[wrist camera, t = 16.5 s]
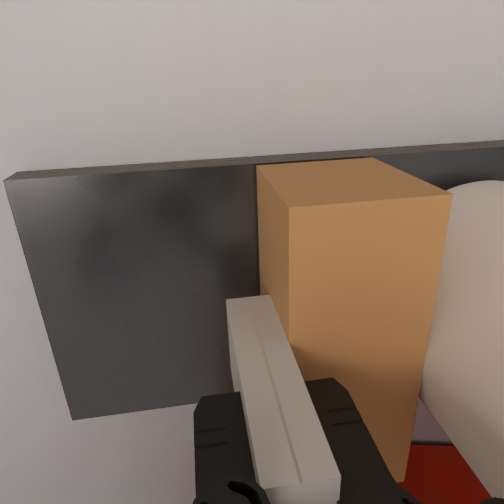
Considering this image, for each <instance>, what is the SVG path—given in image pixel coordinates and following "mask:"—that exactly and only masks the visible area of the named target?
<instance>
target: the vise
mask: <svg viewBox="0 0 504 504" xmlns="http://www.w3.org/2000/svg"><path fill="white" fill-rule="evenodd" d="M357 158H375V159H377V160H379V161H381V162H383V163H386V164H388V165H390V166H392V167H395V168H397V169H399V170H401V171H403V172H406V173H408V174H410V175H412V176H414V177H417V178H419V179H421V180H423V181H425V182H428V183H430V184H432V185H434V186H436V187H439V188H441V189H443V190H445V191H446V190H448V189H451V188H453V187H456V186H459V185H463V184H467V183H471V182H477V181H486V180H497V181H504V140H498V141H483V142H468V143H452V144H437V145H422V146H407V147H391V148H376V149H361V150H346V151H330V152H315V153H300V154H285V155H270V156H254V157H239V158H224V159H209V160H193V161H178V162H163V163H148V164H132V165H117V166H102V167H87V168H72V169H56V170H41V171H26V172H17V173H15V174H13V175H12V176H10V177H8V178H7V179H5V180H3V182H4V186H5V189H6V193H7V196H8V199H9V203H10V206H11V210H12V213H13V217H14V220H15V224H16V227H17V231H18V234H19V237H20V241H21V244H22V248H23V251H24V255H25V258H26V262H27V265H28V269H29V272H30V275H31V279H32V282H33V286H34V289H35V293H36V296H37V300H38V303H39V307H40V310H41V314H42V317H43V320H44V324H45V327H46V331H47V334H48V338H49V341H50V345H51V348H52V352H53V355H54V358H55V362H56V365H57V369H58V372H59V376H60V379H61V383H62V386H63V390H64V393H65V396H66V400H67V403H68V407H69V410H70V414H71V417H72V420H78V419H85V418H93V417H100V416H107V415H114V414H121V413H129V412H136V411H143V410H150V409H157V408H165V407H172V406H179V405H186V404H193V403H199V400H200V398H201V396H208V395H216V394H223V393H230V392H234V386H233V379H232V373H231V366H230V351H229V337H228V323H227V308H226V299H233V298H243V297H252V296H260V269H259V237H258V205H257V173H256V165H270V164H284V163H299V162H314V161H328V160H343V159H357Z"/></svg>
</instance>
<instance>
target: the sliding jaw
mask: <svg viewBox="0 0 504 504" xmlns="http://www.w3.org/2000/svg"><path fill="white" fill-rule="evenodd" d="M256 173H257V205H258V237H259V269H260V296H262V295H270V296H271V298H272V301H273V304H274V306H275V309H276V311H277V314H278V316H279V319H280V322H281V324H282V327H283V329H284V332H285V335H286V337H287V340H288V342H289V344H290V347H291V349H292V352H293V354H294V357H295V359H296V362H297V364H298V367H299V370H300V372H301V375H302V377H303V380H304V381H310V380H318V379H325V378H332V377H333V378H334V379H335V380H337V381H338V382H339V383H340V384H341V385H342V386H343V387H345V388H346V389H347V390H348V392H349V394H350V396H351V398H352V399H353V401H354V403H355V405H356V409H357V410H358V411H359V413H360V415H361V417H362V419H363V423H365V425H366V427H367V429H368V430H369V432H370V434H371V436H372V438H373V440H374V442H375V444H376V446H377V448H378V450H379V452H380V454H381V456H382V458H383V459H384V461H385V463H386V465H387V467H388V469H389V471H390V473H391V475H392V476H393V478H394V480H395V481H396V483H397V482H403V481H404V479H405V473H406V467H407V462H408V456H409V450H410V444H411V438H412V432H413V427H414V421H415V415H416V409H417V403H418V397H419V392H420V386H421V380H422V374H423V368H424V362H425V356H426V351H427V345H428V339H429V333H430V327H431V321H432V316H433V310H434V304H435V298H436V292H437V286H438V281H439V275H440V269H441V263H442V257H443V251H444V245H445V240H446V234H447V228H448V222H449V216H450V210H451V205H452V199H453V194H452V193H450V192H447V191H445V190H443V189H441V188H439V187H436V186H434V185H432V184H430V183H428V182H425V181H423V180H421V179H419V178H417V177H414V176H412V175H410V174H408V173H406V172H403V171H401V170H399V169H397V168H395V167H392V166H390V165H388V164H386V163H383V162H381V161H379V160H377V159H375V158H357V159H343V160H328V161H314V162H299V163H284V164H270V165H256Z"/></svg>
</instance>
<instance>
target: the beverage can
mask: <svg viewBox="0 0 504 504" xmlns="http://www.w3.org/2000/svg"><path fill="white" fill-rule="evenodd" d="M446 191H447V192H450V193H452V194H453V199H452V205H451V210H450V216H449V222H448V228H447V234H446V240H445V245H444V251H443V257H442V263H441V269H440V275H439V281H438V286H437V292H436V298H435V304H434V310H433V316H432V321H431V327H430V333H429V339H428V345H427V351H426V356H425V362H424V368H423V374H422V380H421V386H420V392H419V397H420V399H421V400H422V402H423V403H424V404H425V406H426V407H427V408H428V410H429V411H430V413H431V414H432V415H433V417H434V418H435V419H436V421H437V422H438V424H439V425H440V426H441V428H442V429H443V431H444V432H445V433H446V435H447V436H448V437H449V439H450V440H451V442H452V443H453V444H454V446H455V447H456V448H457V450H458V451H459V453H460V454H461V455H462V457H463V458H464V459H465V461H466V462H467V464H468V465H469V466H470V468H471V469H472V471H473V472H474V473H475V475H476V476H477V477H478V479H479V480H480V482H481V483H482V484H483V486H484V487H485V488H486V490H487V491H488V493H489V494H490V495H491V497H492V498H494V497H497V498H503V499H504V181H497V180H486V181H477V182H471V183H467V184H463V185H459V186H456V187H453V188H451V189H448V190H446Z"/></svg>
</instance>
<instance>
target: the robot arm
mask: <svg viewBox="0 0 504 504" xmlns="http://www.w3.org/2000/svg"><path fill="white" fill-rule="evenodd" d="M226 308H227V323H228V337H229V351H230V366H231V373H232V379H233V386H234V392H230V393H223V394H216V395H208V396H201V398H200V400H199V403H198V405H197V407H196V409H195V411H194V447H195V483H196V498H195V500H194V501H193V504H424V503H422V502H420V501H418V500H416V499H415V497H414V496H413V495H412V494H411V493H409V492H408V491H406V490H405V489H404V488H402V487H401V486H399V485H398V484H397V483H396V481H395V480H394V478H393V476H392V475H391V473H390V471H389V469H388V467H387V465H386V463H385V461H384V459H383V458H382V456H381V454H380V452H379V450H378V448H377V446H376V444H375V442H374V440H373V438H372V436H371V434H370V432H369V430H368V429H367V427H366V425H365V423H363V419H362V417H361V415H360V413H359V411H358V410H357V409H356V405H355V403H354V401H353V399H352V398H351V396H350V394H349V392H348V390H347V389H346V388H345V387H343V386H342V385H341V384H340V383H339V382H338V381H337V380H335V379H334V378H333V377H332V378H325V379H318V380H310V381H304V380H303V377H302V375H301V372H300V370H299V367H298V364H297V362H296V359H295V357H294V354H293V352H292V349H291V347H290V344H289V342H288V340H287V337H286V335H285V332H284V329H283V327H282V324H281V322H280V319H279V316H278V314H277V311H276V309H275V306H274V304H273V301H272V298H271V296H270V295H262V296H252V297H243V298H233V299H226ZM479 504H504V499H503V498H497V497H494V498H490V499H485V500H482V501H481V502H480V503H479Z"/></svg>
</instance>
